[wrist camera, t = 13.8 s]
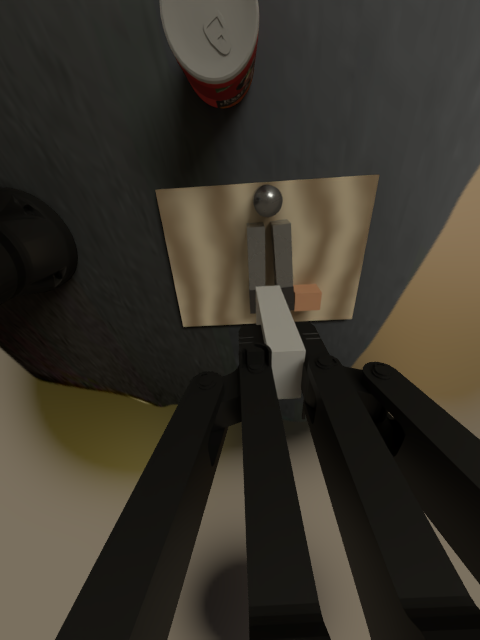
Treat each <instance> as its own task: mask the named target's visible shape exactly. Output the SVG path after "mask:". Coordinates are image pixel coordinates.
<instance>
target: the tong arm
mask: <svg viewBox="0 0 480 640" xmlns="http://www.w3.org/2000/svg"><path fill="white" fill-rule="evenodd" d="M270 226H271V239H272V252H273V266H274V279H275V280H274V283H275V286H278V285H280V288H281V290H282V293H283V295H284V298H285V300H286V303H287V305H288V308H289V310H290V311H291V310H294V286H293V265H292V236H291V223H290V222H289V221H288V220H287V219H283V220H276V221H270Z"/></svg>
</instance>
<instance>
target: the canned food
mask: <svg viewBox="0 0 480 640" xmlns="http://www.w3.org/2000/svg"><path fill="white" fill-rule="evenodd" d="M160 12H161V19H162V24H163V28H164V32H165V35H166V38H167V41H168V43H169V46H170V48H171V50H172V52H173V54H174V56H175V58H176V60H177V62H178V64H179V65H180V67H181V69H182V70H183V72H184V74H185V75H186V77H187V79H188V81H189V82H190V84H191V86H192V87H193V89H194V91H195V92H196V93H197V95H198V96H199V97H200V98H201V99H202V100H203V101H204V102H205V103H207V104H209V105H210V106H213V107H216V108H222V109H223V108H229V107H232V106H234V105H236V104H237V103H238V102H240V101H241V100H242V99H243V97H244V96H245V95H246V93H247V91H248V90H249V87H250V84H251V82H252V77H253V72H254V65H255V57H256V49H257V41H258V31H259V8H258V0H160Z"/></svg>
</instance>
